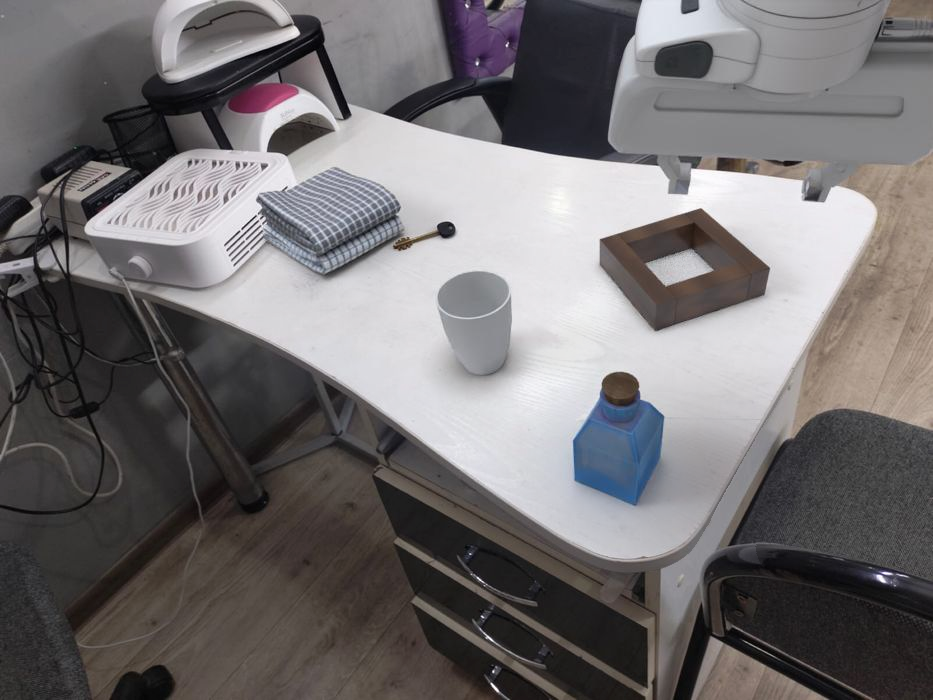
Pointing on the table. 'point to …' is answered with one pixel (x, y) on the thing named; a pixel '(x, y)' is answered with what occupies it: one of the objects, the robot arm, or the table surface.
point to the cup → (477, 318)
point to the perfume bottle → (619, 440)
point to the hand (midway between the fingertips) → (743, 192)
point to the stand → (693, 297)
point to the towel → (330, 219)
